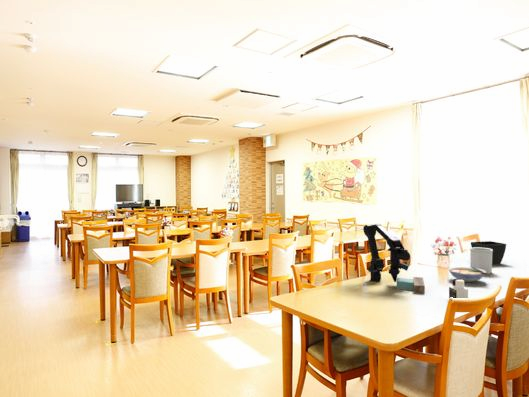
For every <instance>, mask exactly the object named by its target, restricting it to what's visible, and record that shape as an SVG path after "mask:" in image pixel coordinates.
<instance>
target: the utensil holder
mask: <svg viewBox="0 0 529 397" xmlns="http://www.w3.org/2000/svg"><path fill="white" fill-rule="evenodd" d="M469 252H470V254H469V255H470V256H469V257H470V262H469V263H470V266H472V267H474V268H477V269H482V270H484V271H486V273H487V275H489V274H490V275H491V274H492V273H493V272H492V270H493V264H492V252H493V250H492V249H489V248H481V247H473V248H472V247H470V248H469ZM470 266H469V267H470ZM472 267H470V268H472Z"/></svg>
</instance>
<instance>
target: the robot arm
mask: <svg viewBox="0 0 529 397" xmlns="http://www.w3.org/2000/svg"><path fill="white" fill-rule="evenodd" d="M362 230H363V233H364V235H365V237H366V238H367V241H368V246H369V250H370V255H371V259H370V265H369V267H368V268H367V270H368V272H369V273H370V279H369V280H370V282H381V280H382V273H381V272H383V271H384V270H383V269H384V265H385V262H384V259H383V258H381V257H380V255H379V249H378V246H377V241H376V234H377V233H378V234H379V235H380V236H381V237H382V238H383V239H384V240H385V241H386V244H387V246H388V247H389V248H388V249H387V251H389V252H390V255H389V256H390V257H389V258H390V260H389V261H390V262H389V263H390V268H389V269H388V274H390V275H391V277H392V280H393V282H394V283H397V278H398V275H399V274H400V272H401V269H402V270H404V271H406V272H407V271H408V269H409V267H410V265H409V263H408V261H409V260H410V258H411V254H410V252H409V250H408V249H405V248H404V246H403V243H402V241H401V239H399V238H398V237H396V236H393V235H392V234H391V233H390V232H389V231H387V229H385V227H383V225H382V224H381V223H374V224H365V225H364V226H363V228H362ZM402 261H404V262H402Z"/></svg>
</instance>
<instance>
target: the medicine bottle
mask: <svg viewBox="0 0 529 397" xmlns="http://www.w3.org/2000/svg"><path fill="white" fill-rule="evenodd" d="M448 294H449V295H448V299H449V298H450V297H453V298H468V299H469V289H468V288H466V287H465V282H464V280H462V279H457V278H453V279H452V286H449V287H448Z"/></svg>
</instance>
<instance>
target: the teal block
mask: <svg viewBox="0 0 529 397" xmlns="http://www.w3.org/2000/svg"><path fill="white" fill-rule="evenodd" d="M396 289H397V290H398V289H399V290H408V291H414V286H413V278H406V277H404V278H403V277H397V280H396Z"/></svg>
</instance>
